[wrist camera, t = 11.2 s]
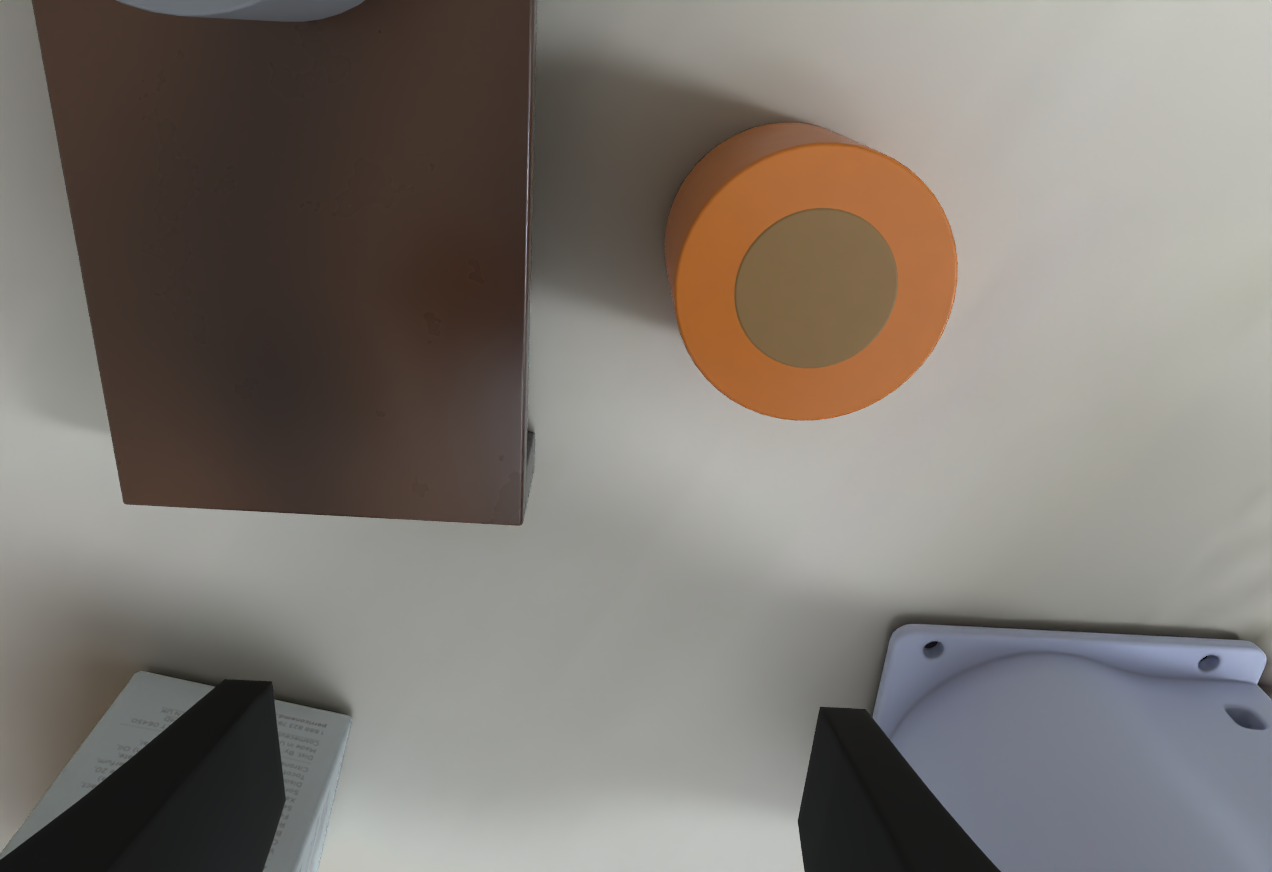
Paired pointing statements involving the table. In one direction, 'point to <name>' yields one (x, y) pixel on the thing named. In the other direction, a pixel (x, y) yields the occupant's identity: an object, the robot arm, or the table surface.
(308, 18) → the grey tape
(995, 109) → the table surface
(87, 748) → the small box
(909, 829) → the robot arm
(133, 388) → the brown rectangular block
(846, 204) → the orange tape
